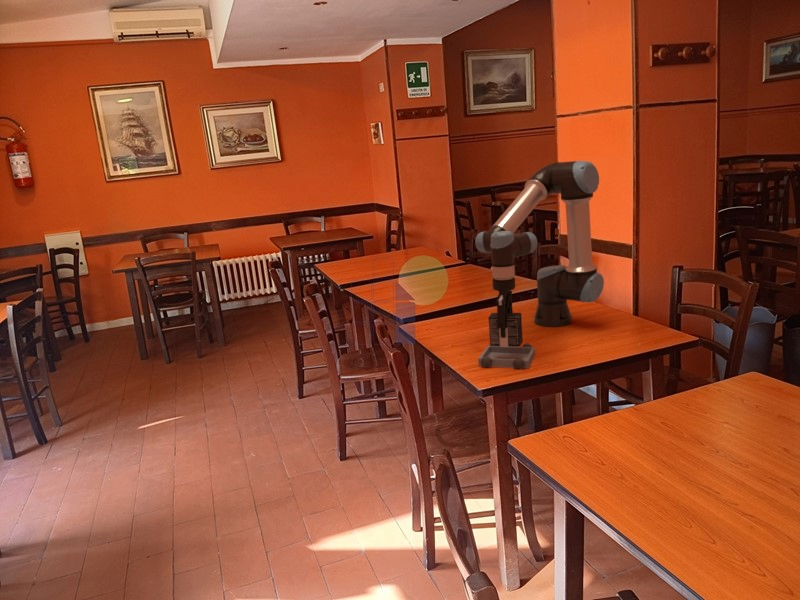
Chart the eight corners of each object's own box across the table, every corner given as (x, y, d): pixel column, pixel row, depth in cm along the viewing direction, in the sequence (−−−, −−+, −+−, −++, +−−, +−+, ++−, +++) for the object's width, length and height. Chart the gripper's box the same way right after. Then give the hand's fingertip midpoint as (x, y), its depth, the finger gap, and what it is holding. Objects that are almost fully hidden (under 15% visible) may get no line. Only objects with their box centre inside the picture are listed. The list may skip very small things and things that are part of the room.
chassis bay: (489, 351, 220) (488, 341, 219) (535, 353, 213) (535, 343, 213) (477, 367, 205) (476, 357, 204) (527, 370, 198) (527, 359, 198)
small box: (523, 340, 209) (522, 311, 206) (520, 347, 203) (519, 317, 200) (493, 340, 212) (491, 311, 210) (489, 346, 207) (487, 317, 204)
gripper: (498, 271, 212) (501, 334, 218) (485, 284, 195) (489, 351, 200) (520, 271, 209) (522, 334, 215) (508, 284, 192) (511, 352, 197)
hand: (506, 342), depth 208 cm, fingers closed on small box, 6 cm apart
